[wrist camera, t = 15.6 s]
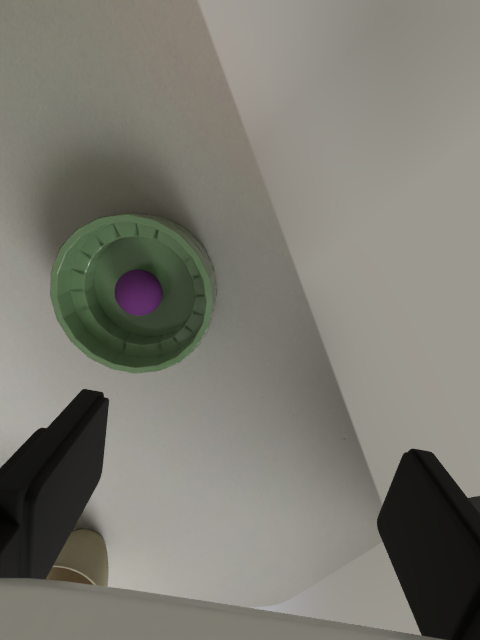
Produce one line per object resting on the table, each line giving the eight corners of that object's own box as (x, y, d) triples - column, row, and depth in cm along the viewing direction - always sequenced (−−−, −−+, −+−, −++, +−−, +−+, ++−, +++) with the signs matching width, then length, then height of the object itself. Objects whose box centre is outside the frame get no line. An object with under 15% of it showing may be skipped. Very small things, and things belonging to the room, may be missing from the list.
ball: (170, 271, 35) (157, 278, 31) (164, 313, 36) (150, 325, 32) (127, 262, 35) (108, 268, 31) (123, 304, 36) (104, 315, 32)
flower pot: (138, 538, 46) (119, 595, 39) (98, 582, 49) (74, 642, 42) (72, 500, 44) (41, 552, 38) (34, 546, 47) (-2, 604, 40)
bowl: (228, 230, 34) (225, 234, 29) (204, 361, 39) (198, 385, 33) (83, 200, 34) (53, 199, 29) (75, 337, 38) (47, 357, 33)
